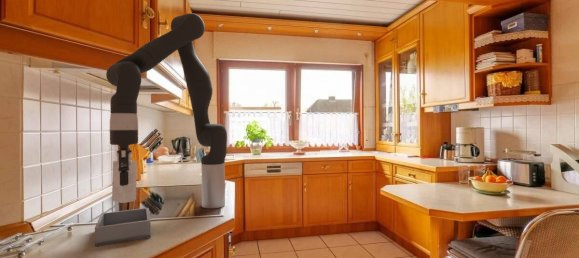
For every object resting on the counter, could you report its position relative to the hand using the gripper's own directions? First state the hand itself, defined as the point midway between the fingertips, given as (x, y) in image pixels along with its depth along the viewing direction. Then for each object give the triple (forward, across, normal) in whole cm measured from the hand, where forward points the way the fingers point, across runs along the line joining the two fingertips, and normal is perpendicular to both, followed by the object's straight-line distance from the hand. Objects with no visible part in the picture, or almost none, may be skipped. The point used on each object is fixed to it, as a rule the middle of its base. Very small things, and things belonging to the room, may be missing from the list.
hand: (124, 183), depth 90 cm
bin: (+15, 0, 0) cm, 15 cm away
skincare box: (+6, 0, 0) cm, 6 cm away
